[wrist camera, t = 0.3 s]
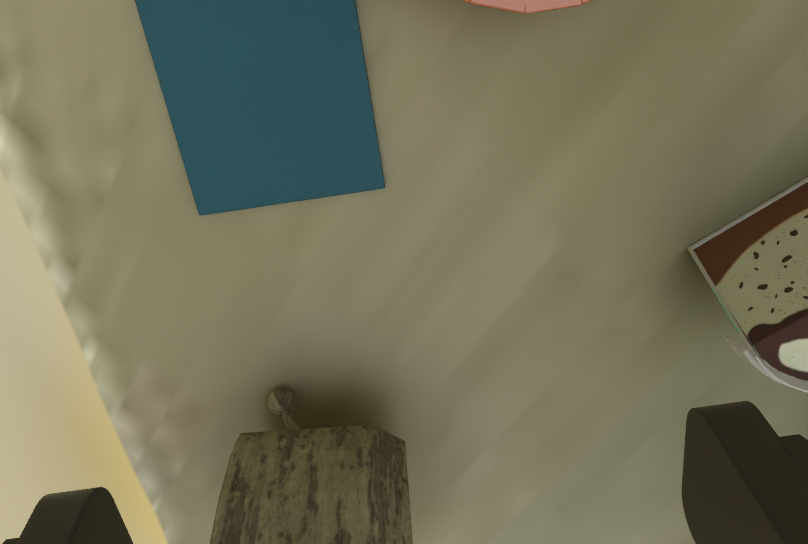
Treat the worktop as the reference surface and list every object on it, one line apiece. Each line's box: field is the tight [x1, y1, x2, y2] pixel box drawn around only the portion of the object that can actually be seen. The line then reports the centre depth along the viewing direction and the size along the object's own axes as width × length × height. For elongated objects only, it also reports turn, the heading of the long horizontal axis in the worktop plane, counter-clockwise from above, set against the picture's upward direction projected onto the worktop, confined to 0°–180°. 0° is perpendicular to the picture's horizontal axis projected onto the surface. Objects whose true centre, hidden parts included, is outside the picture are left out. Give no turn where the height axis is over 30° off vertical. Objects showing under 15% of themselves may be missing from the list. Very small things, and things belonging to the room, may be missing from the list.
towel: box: [135, 0, 385, 216], centre depth 34 cm, size 18×10×1 cm, turn 8°
